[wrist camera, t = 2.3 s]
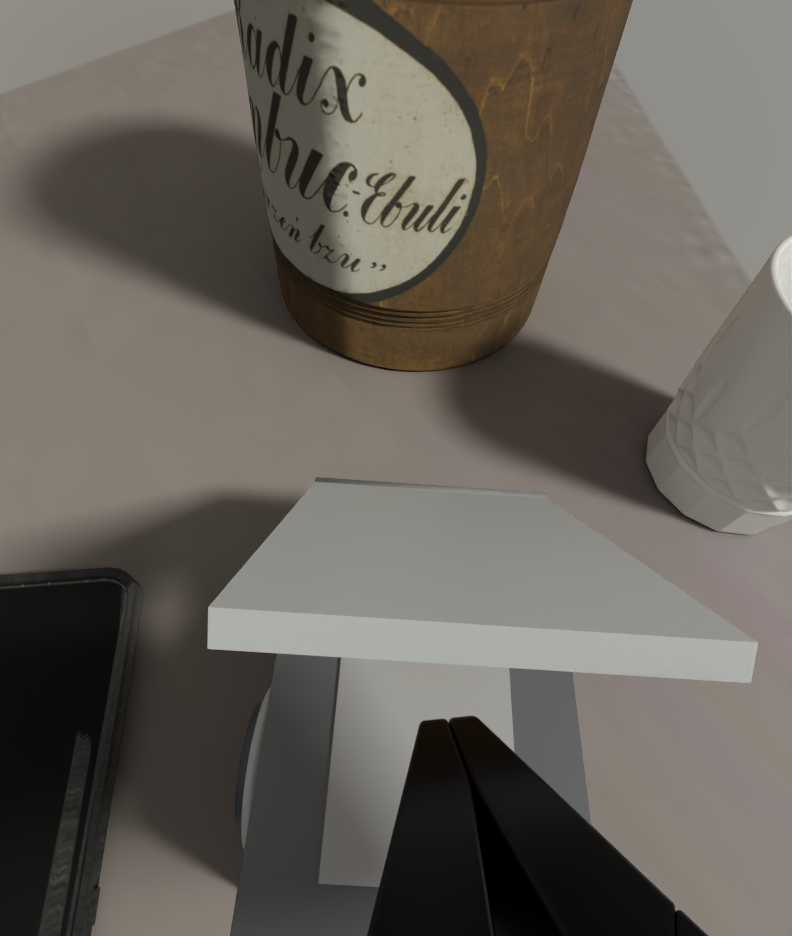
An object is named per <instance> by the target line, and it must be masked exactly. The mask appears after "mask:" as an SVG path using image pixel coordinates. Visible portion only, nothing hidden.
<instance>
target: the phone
mask: <svg viewBox="0 0 792 936" xmlns="http://www.w3.org/2000/svg"><path fill="white" fill-rule="evenodd" d="M142 601H143V600H142V590H141V587H140V585H139V584H138V583H137V582H136V581H135V580H134V579H133V578H132V577H131V576H130V575H129V574H128V573H127V572H125V571H123V570H120V569H118V568H96V569H83V570H69V571H56V572H42V573H29V574H15V575H2V576H0V936H91V930H92V926H93V925H94V923H95V918H96V911H97V905H98V898H99V892H100V887H98V885H99V878H100V872H101V866H102V859H103V853H104V846H105V840H106V833H107V827H108V820H109V814H110V808H111V801H112V795H113V788H114V782H115V775H116V769H117V762H118V756H119V750H120V743H121V737H122V730H123V724H124V717H125V711H126V704H127V698H128V692H129V685H130V679H131V672H132V666H133V659H134V653H135V646H136V640H137V634H138V627H139V621H140V614H141V608H142Z"/></svg>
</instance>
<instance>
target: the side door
mask: <svg viewBox="0 0 792 936" xmlns="http://www.w3.org/2000/svg"><path fill="white" fill-rule="evenodd" d="M757 647H758V642H757V641H755V640H754V639H753V638H751V637H750V636H748V635H747V634H745V633H744V632H742V631H741V630H739V629H738V628H736V627H735V626H734V625H732V624H731V623H729V622H728V621H726V620H725V619H723V618H722V617H720V616H719V615H717V614H716V613H715V612H713V611H712V610H710V609H709V608H707V607H706V606H704V605H703V604H701V603H700V602H698V601H697V600H695V599H694V598H693V597H691V596H690V595H688V594H687V593H685V592H684V591H682V590H681V589H679V588H678V587H676V586H675V585H674V584H672V583H671V582H669V581H668V580H666V579H665V578H663V577H662V576H660V575H659V574H657V573H656V572H654V571H653V570H652V569H650V568H649V567H647V566H646V565H644V564H643V563H641V562H640V561H638V560H637V559H635V558H634V557H633V556H631V555H630V554H628V553H627V552H625V551H624V550H622V549H621V548H619V547H618V546H616V545H615V544H613V543H612V542H611V541H609V540H608V539H606V538H605V537H603V536H602V535H600V534H599V533H597V532H596V531H594V530H593V529H592V528H590V527H589V526H587V525H586V524H584V523H583V522H581V521H580V520H578V519H577V518H575V517H574V516H573V515H571V514H570V513H568V512H567V511H565V510H564V509H562V508H561V507H559V506H558V505H556V504H555V503H553V502H552V501H551V500H549V499H548V498H546V494H545V493H536V492H521V491H507V490H492V489H478V488H464V487H449V486H435V485H420V484H406V483H391V482H377V481H362V480H348V479H334V478H319V477H316V479H315V482H314V484H313V485H312V486H311V487H310V488H309V489H308V491H307V492H306V493H305V494H304V495H303V496H302V498H301V499H300V500H299V501H298V502H297V503H296V505H295V506H294V507H293V508H292V509H291V511H290V512H289V513H288V514H287V515H286V516H285V518H284V519H283V520H282V521H281V522H280V523H279V525H278V526H277V527H276V528H275V529H274V530H273V532H272V533H271V534H270V535H269V536H268V538H267V539H266V540H265V541H264V542H263V543H262V545H261V546H260V547H259V548H258V549H257V550H256V552H255V553H254V554H253V555H252V556H251V557H250V559H249V560H248V561H247V562H246V563H245V565H244V566H243V567H242V568H241V569H240V570H239V572H238V573H237V574H236V575H235V576H234V577H233V579H232V580H231V581H230V582H229V583H228V584H227V586H226V587H225V588H224V589H223V590H222V592H221V593H220V594H219V595H218V596H217V597H216V599H215V600H214V601H213V602H212V603H211V604H210V606H209V607H208V644H207V649H216V650H232V651H248V652H264V653H280V654H296V655H312V656H328V657H344V658H360V659H375V660H391V661H407V662H423V663H439V664H455V665H471V666H487V667H503V668H519V669H535V670H551V671H567V672H583V673H599V674H615V675H631V676H647V677H663V678H679V679H694V680H710V681H726V682H742V683H751V679H752V674H753V669H754V663H755V658H756V652H757Z"/></svg>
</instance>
